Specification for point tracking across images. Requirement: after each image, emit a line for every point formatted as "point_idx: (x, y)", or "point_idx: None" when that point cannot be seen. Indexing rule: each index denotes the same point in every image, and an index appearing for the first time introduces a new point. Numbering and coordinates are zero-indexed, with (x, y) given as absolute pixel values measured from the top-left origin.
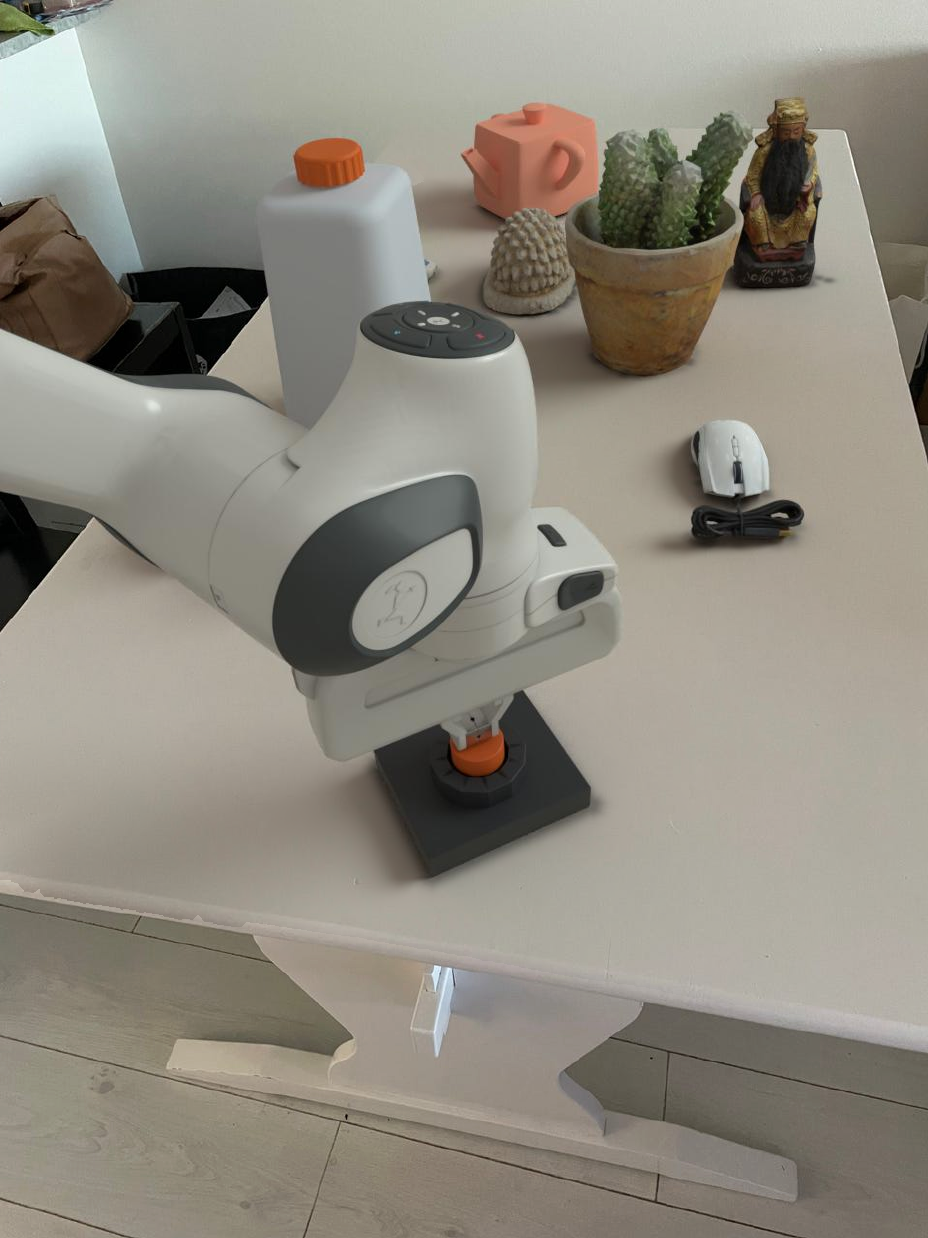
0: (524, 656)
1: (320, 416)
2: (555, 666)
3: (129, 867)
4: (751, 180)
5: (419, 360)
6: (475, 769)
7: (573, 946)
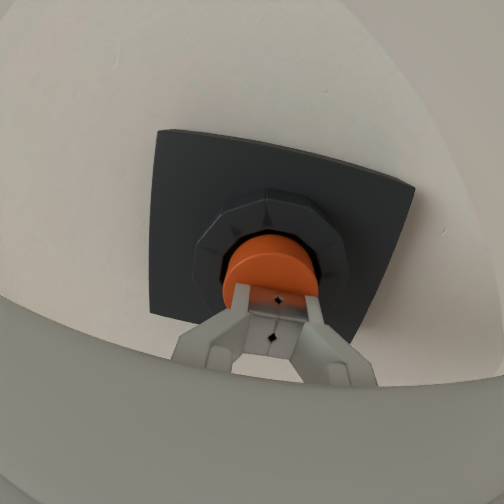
0: (79, 488)
1: None
2: (28, 352)
3: (492, 337)
4: None
5: None
6: (302, 253)
7: (321, 6)
